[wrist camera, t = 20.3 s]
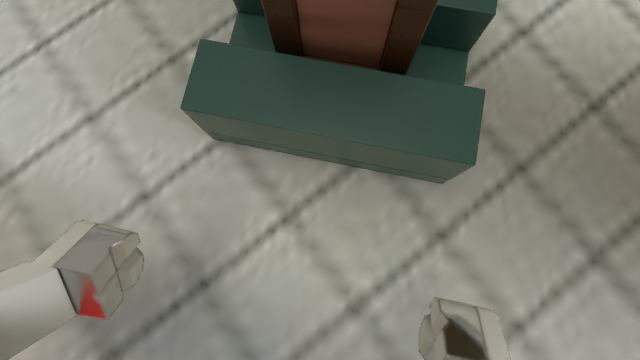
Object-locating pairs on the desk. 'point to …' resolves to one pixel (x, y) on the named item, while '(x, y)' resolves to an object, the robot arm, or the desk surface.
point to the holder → (346, 97)
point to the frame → (350, 30)
